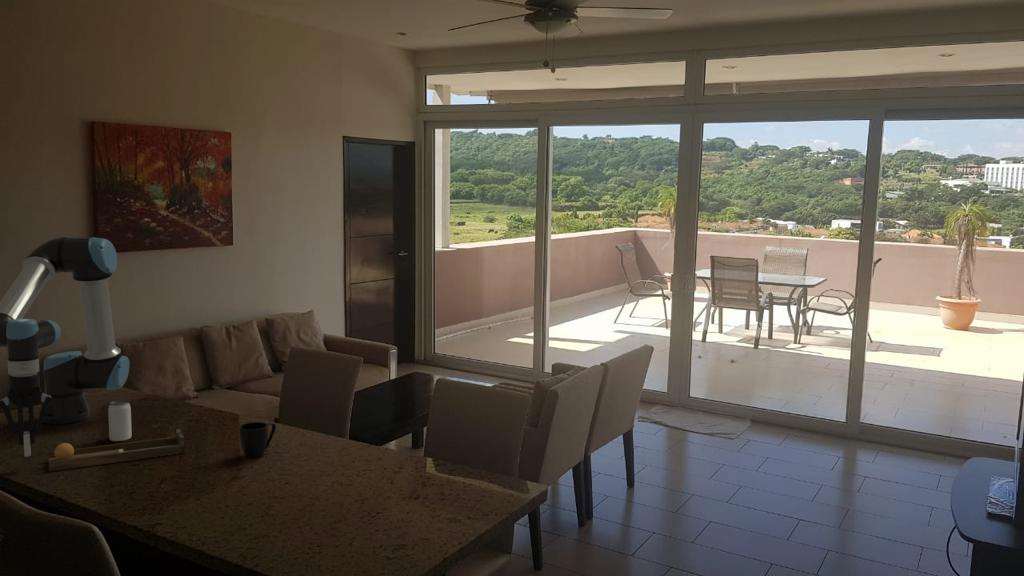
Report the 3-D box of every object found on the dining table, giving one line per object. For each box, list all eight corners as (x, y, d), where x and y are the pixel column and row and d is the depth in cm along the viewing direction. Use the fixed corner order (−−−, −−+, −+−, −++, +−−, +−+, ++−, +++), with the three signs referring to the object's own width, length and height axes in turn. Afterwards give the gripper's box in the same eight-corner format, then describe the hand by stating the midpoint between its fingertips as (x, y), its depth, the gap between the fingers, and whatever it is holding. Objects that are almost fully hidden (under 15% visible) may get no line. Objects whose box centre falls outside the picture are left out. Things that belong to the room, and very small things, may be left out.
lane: (48, 460, 232) (48, 444, 231) (179, 444, 250) (179, 428, 250) (48, 471, 223) (48, 454, 223) (184, 453, 242) (184, 437, 241)
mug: (283, 452, 245) (283, 422, 244) (251, 462, 235) (250, 431, 234) (267, 446, 250) (266, 417, 248) (234, 456, 240) (233, 426, 239)
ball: (54, 458, 231) (53, 442, 230) (74, 456, 233) (73, 439, 232) (54, 463, 226) (54, 447, 226) (74, 461, 229) (73, 444, 228)
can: (125, 442, 251) (124, 405, 249) (105, 441, 251) (104, 405, 250) (135, 436, 257) (134, 400, 256) (115, 435, 257) (114, 399, 256)
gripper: (-5, 378, 216) (-1, 462, 218) (50, 374, 222) (54, 455, 225) (-3, 373, 222) (1, 454, 224) (50, 369, 229) (53, 448, 231)
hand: (27, 455), depth 225 cm, fingers closed
